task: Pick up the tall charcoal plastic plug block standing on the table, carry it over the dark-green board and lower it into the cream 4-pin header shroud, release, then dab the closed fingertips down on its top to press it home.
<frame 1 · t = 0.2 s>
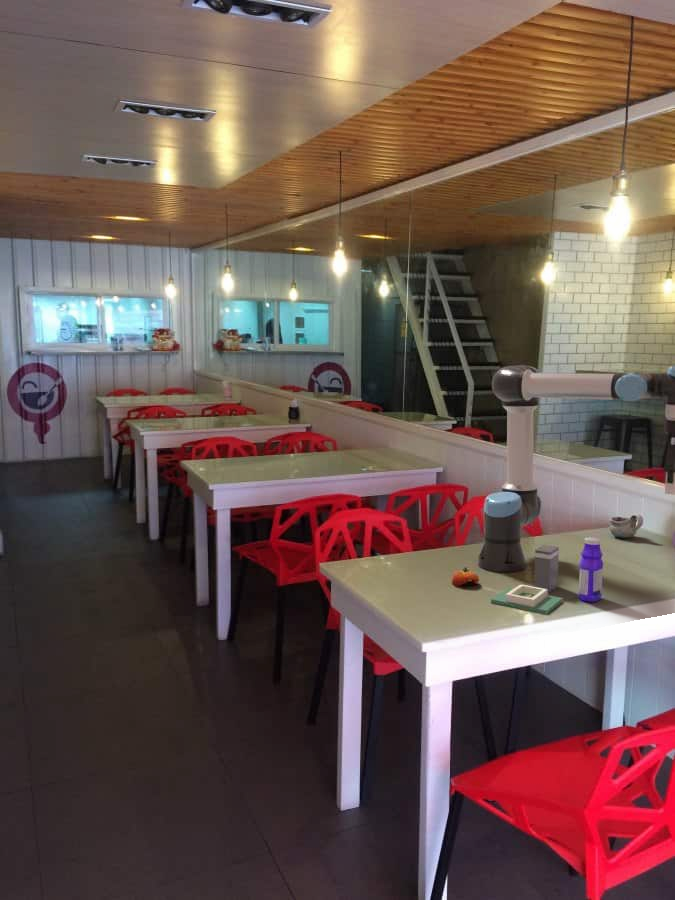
tomato: (465, 585, 219), on the table
header board: (526, 602, 202), on the table
bottle: (590, 599, 204), on the table
plug: (545, 588, 214), on the table
mug: (626, 538, 271), on the table
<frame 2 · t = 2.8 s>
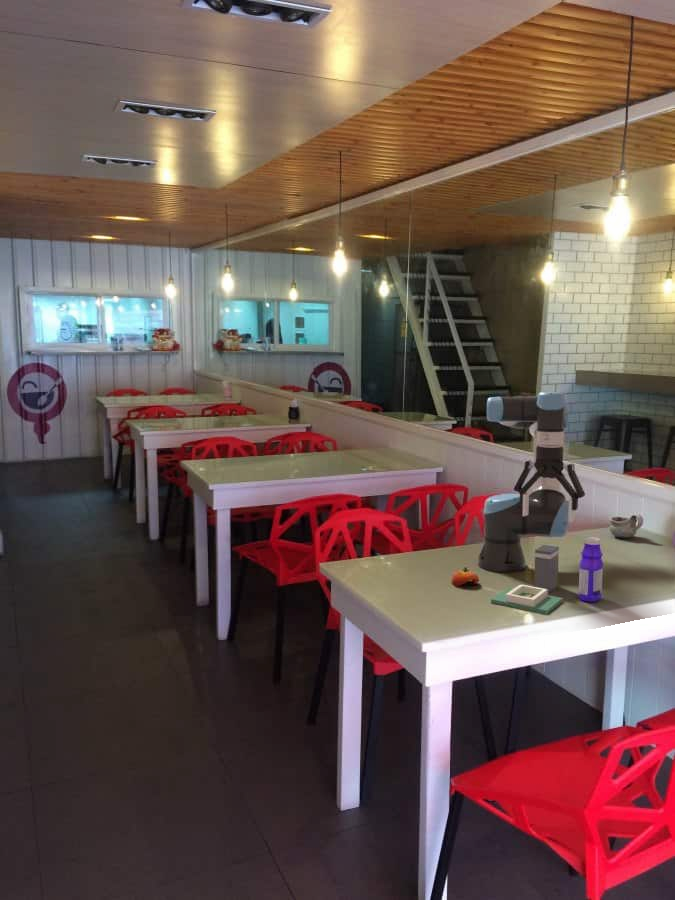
hand: (547, 518, 211), 21 cm above the table, fingers open, 13 cm apart
nothing on the table moved.
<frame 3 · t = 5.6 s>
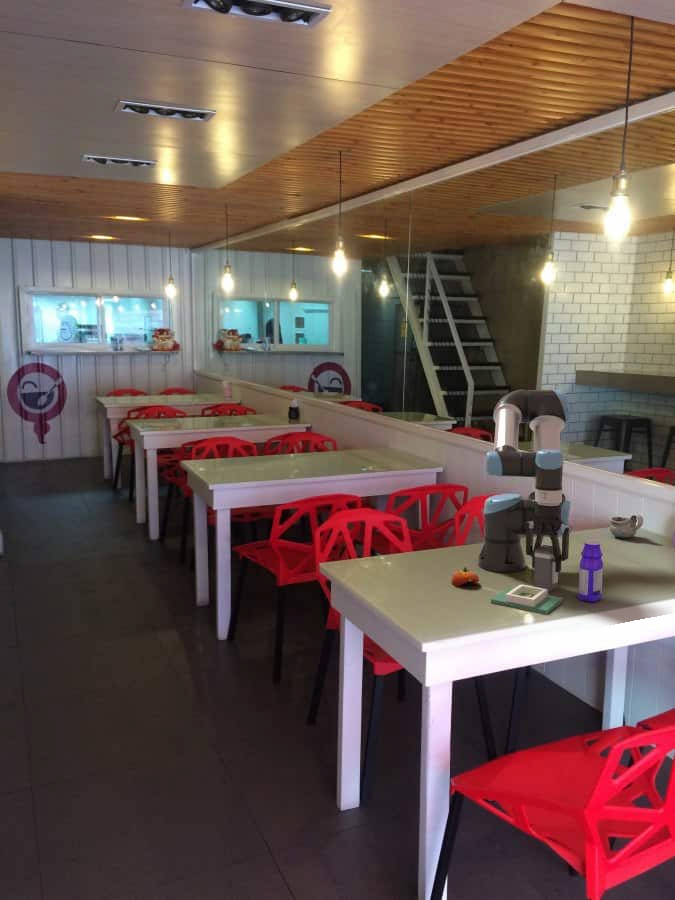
hand: (546, 580, 214), 2 cm above the table, fingers closed on plug, 4 cm apart
plug: (545, 588, 214), on the table, touching gripper
everything else where it was.
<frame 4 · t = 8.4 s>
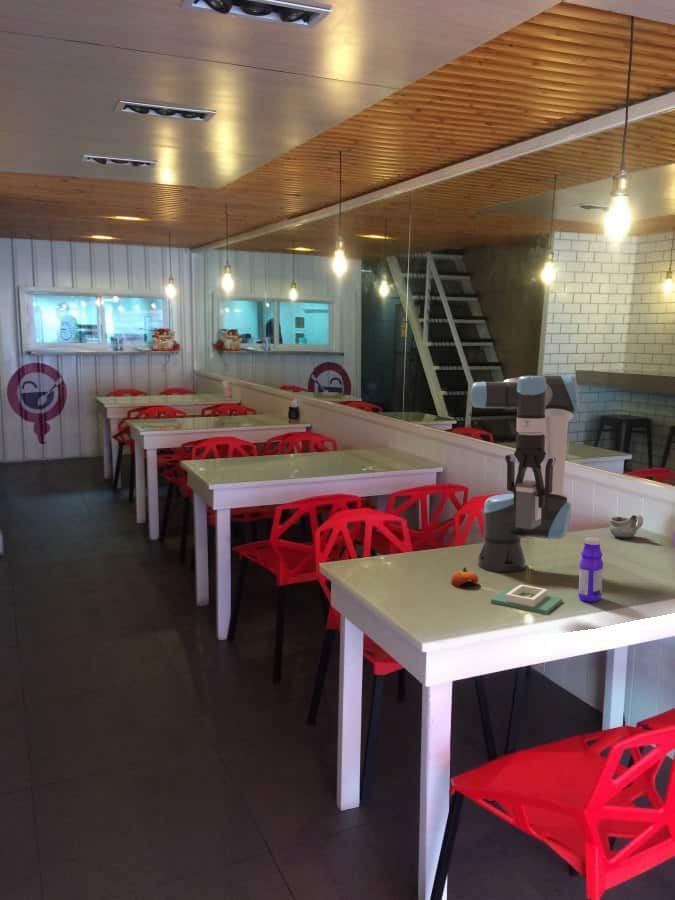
hand: (528, 517, 199), 24 cm above the table, fingers closed on plug, 4 cm apart
plug: (528, 525, 199), point 22 cm above the table, touching gripper
everything else where it was.
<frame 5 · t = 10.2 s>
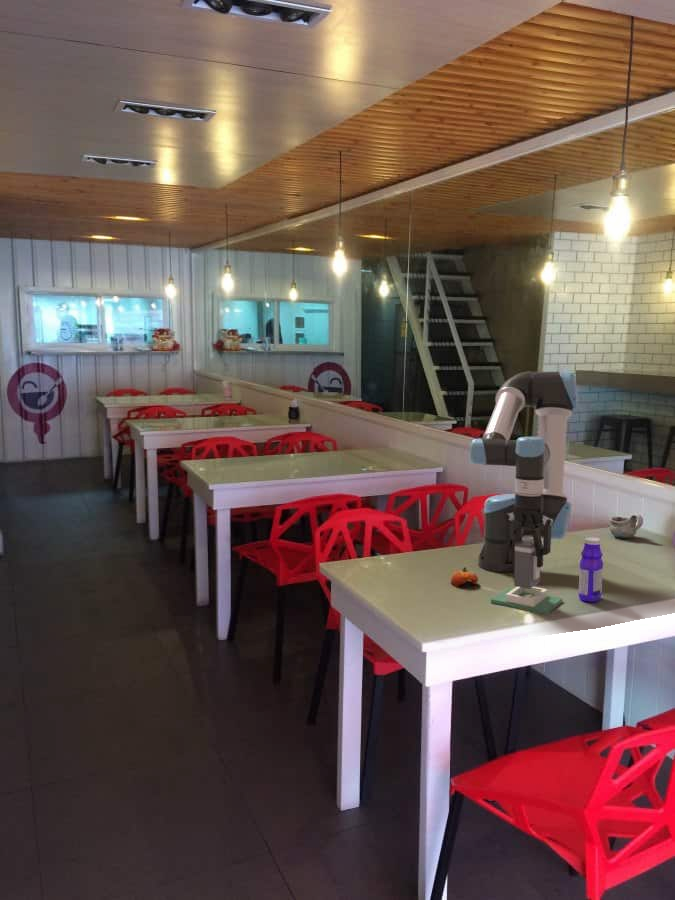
hand: (527, 576, 201), 7 cm above the table, fingers closed on plug, 4 cm apart
plug: (526, 584, 202), point 5 cm above the table, touching gripper
everything else where it was.
when the fingers open (4 cm above the table, at t = 11.7 s): plug drops 1 cm, resting on header board.
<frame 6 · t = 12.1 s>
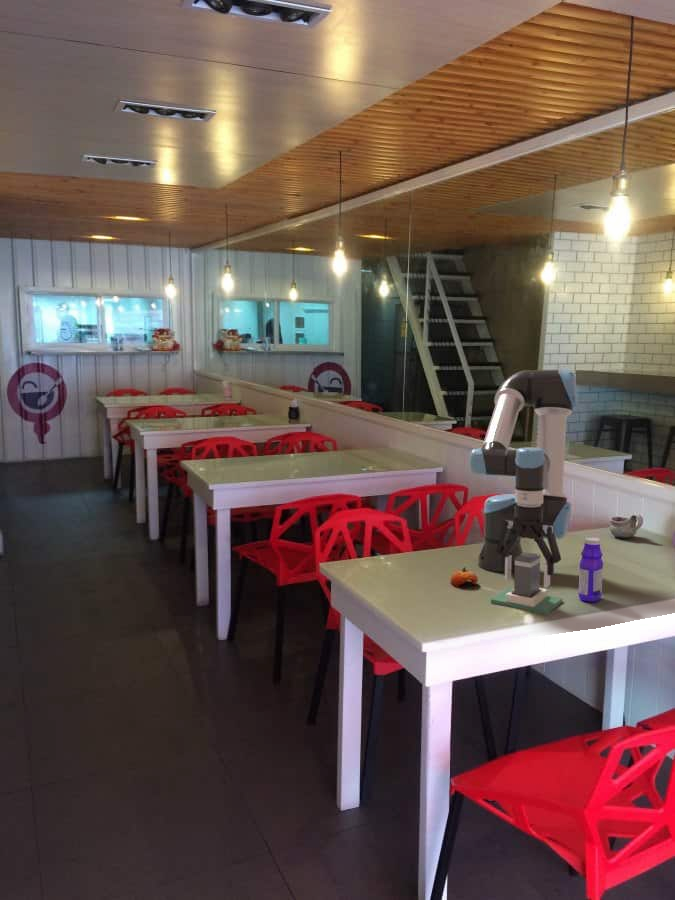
hand: (527, 582, 202), 6 cm above the table, fingers open, 10 cm apart
plug: (526, 598, 202), point 1 cm above the table, touching header board
everything else where it was.
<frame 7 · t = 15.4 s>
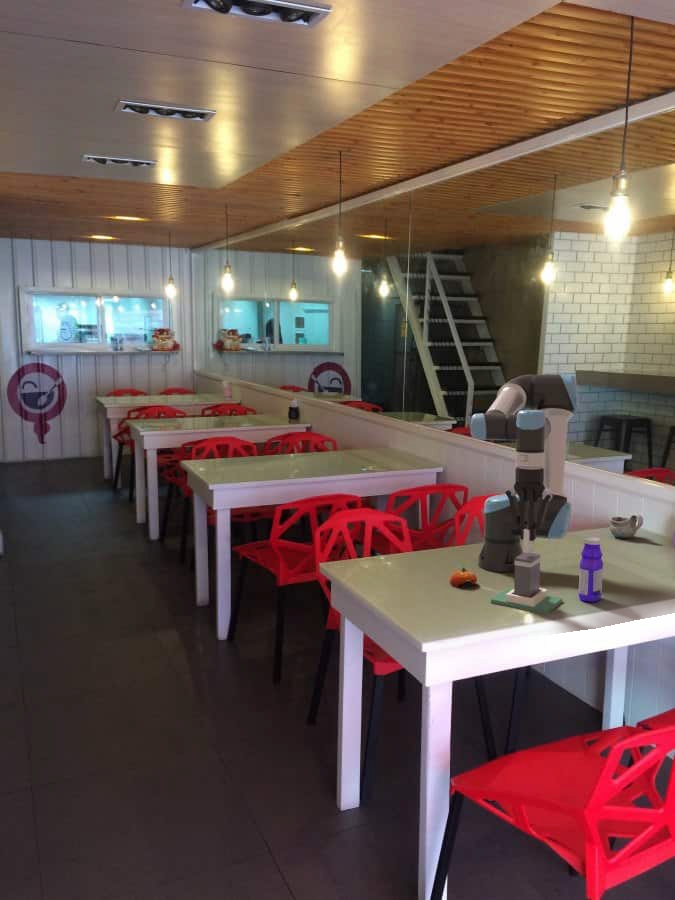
hand: (527, 551, 200), 15 cm above the table, fingers closed
nothing on the table moved.
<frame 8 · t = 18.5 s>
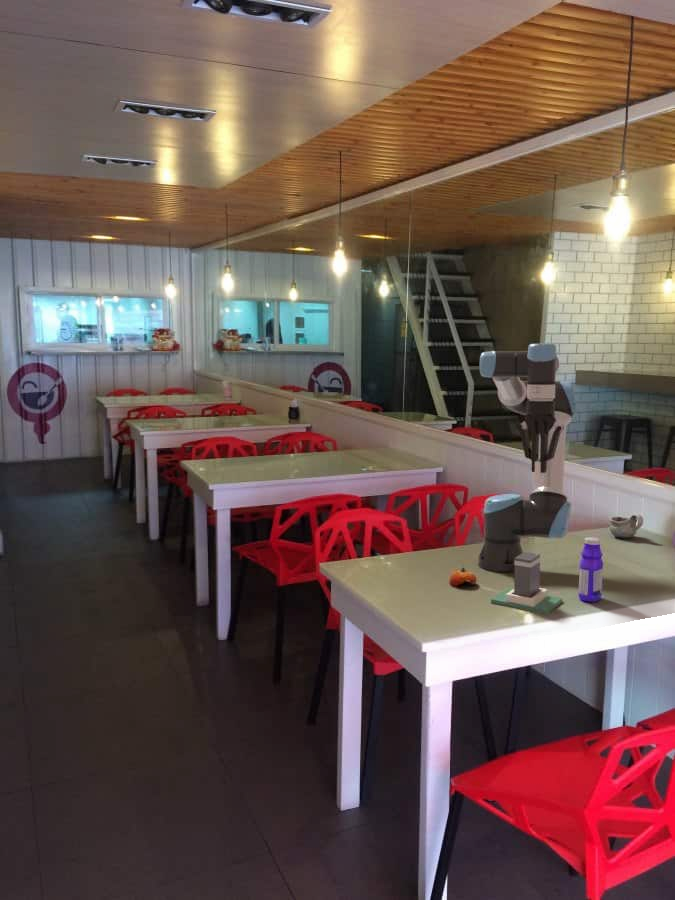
hand: (538, 483, 204), 32 cm above the table, fingers closed
nothing on the table moved.
at the end: plug 0.0 cm off-centre on the header board, point 1.2 cm above the header board's base; plug tilted 0°; the gripper is holding nothing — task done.
